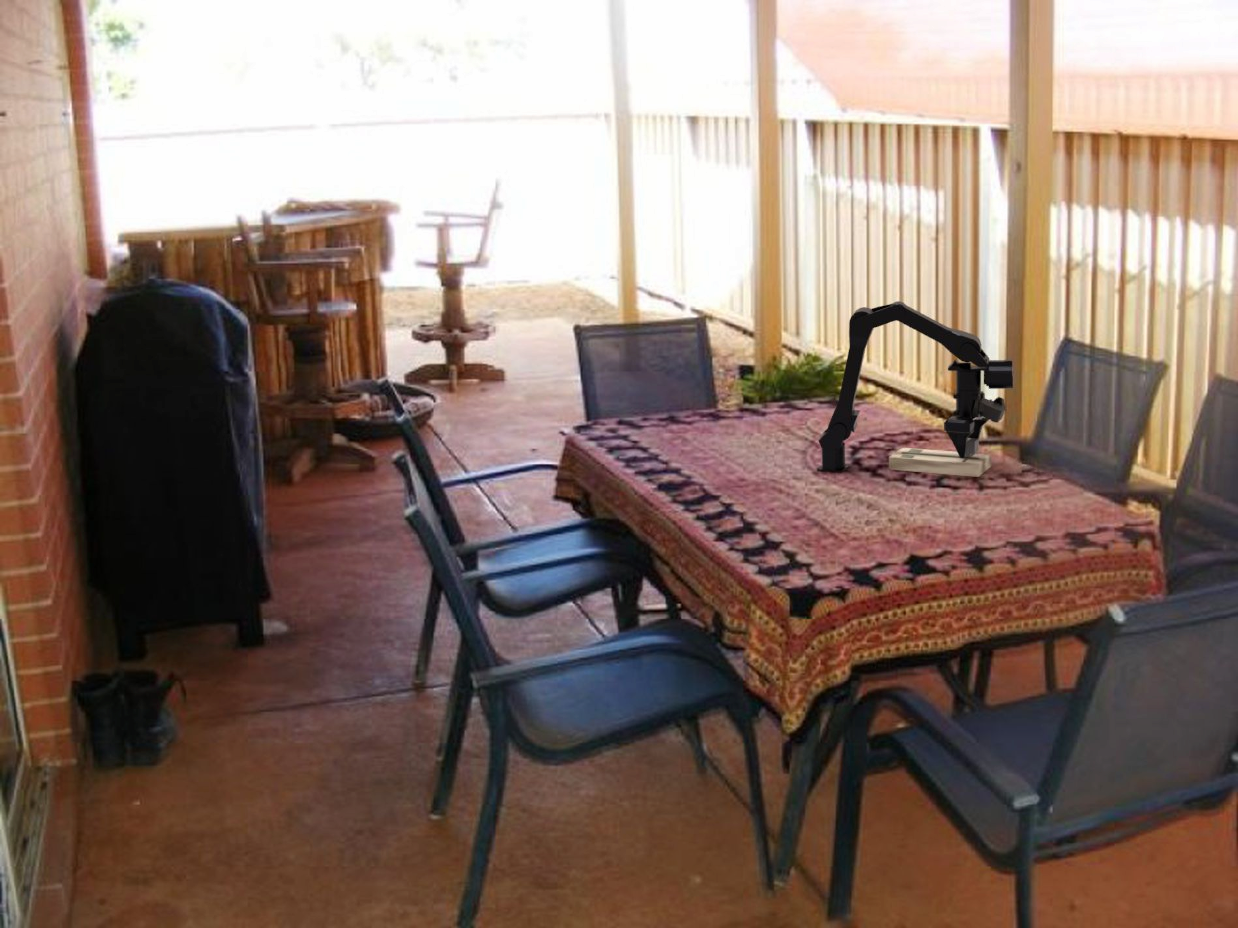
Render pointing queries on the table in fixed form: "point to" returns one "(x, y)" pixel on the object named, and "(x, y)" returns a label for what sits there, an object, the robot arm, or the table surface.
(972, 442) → the fader knob
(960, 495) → the table surface
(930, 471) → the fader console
